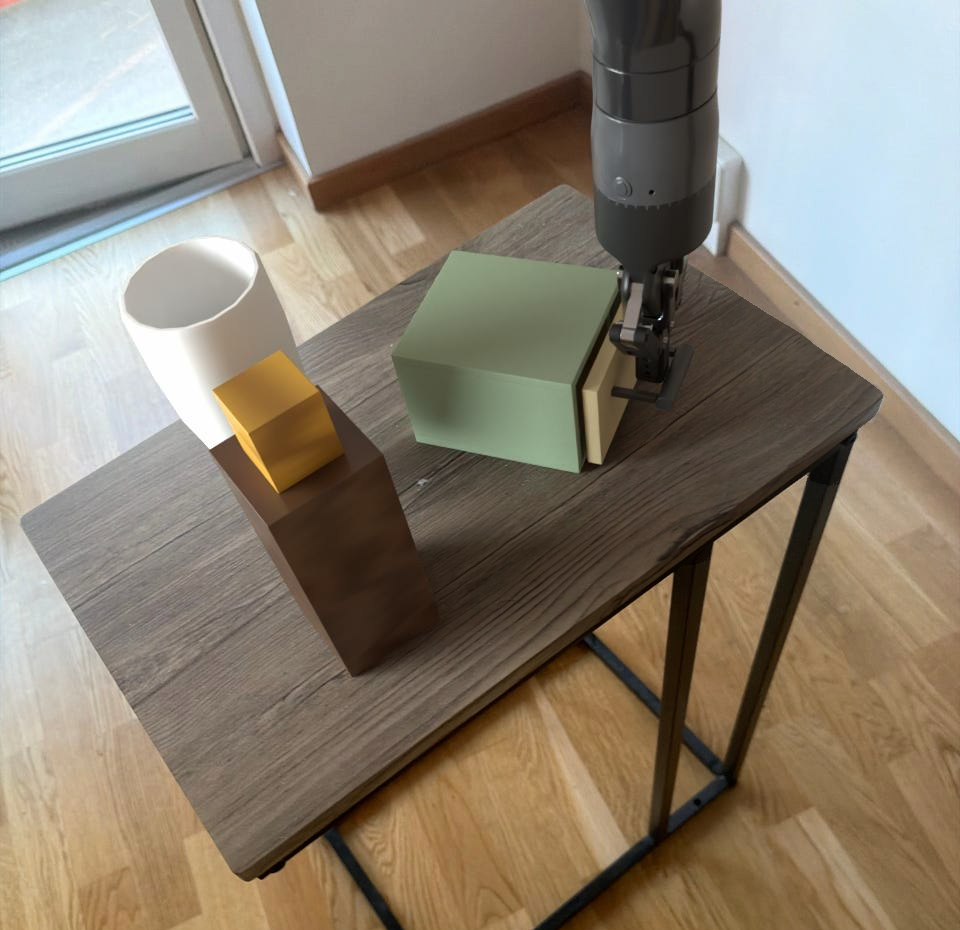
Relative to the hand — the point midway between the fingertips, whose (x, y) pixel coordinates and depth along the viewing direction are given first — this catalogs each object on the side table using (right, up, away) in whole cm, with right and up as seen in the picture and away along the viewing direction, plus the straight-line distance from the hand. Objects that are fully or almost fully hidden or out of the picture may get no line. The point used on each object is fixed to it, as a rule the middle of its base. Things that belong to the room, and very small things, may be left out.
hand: (652, 375), depth 72 cm
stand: (-22, -18, -1) cm, 28 cm away
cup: (-29, -8, +7) cm, 31 cm away
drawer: (-5, -1, +6) cm, 8 cm away
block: (-24, -9, -16) cm, 30 cm away
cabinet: (-10, 0, +8) cm, 13 cm away
